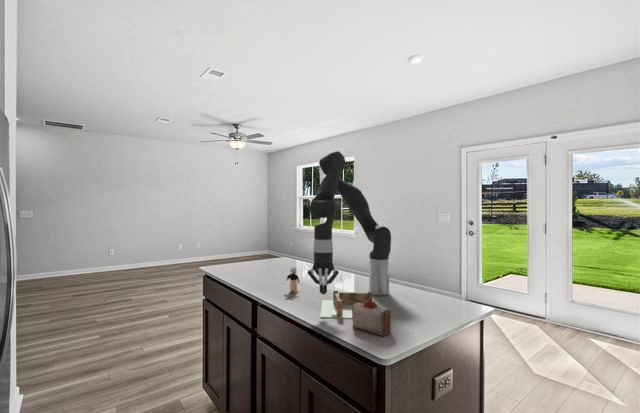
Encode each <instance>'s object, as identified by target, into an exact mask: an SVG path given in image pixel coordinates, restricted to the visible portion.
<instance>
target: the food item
mask: <svg viewBox="0 0 640 413" xmlns="http://www.w3.org/2000/svg"><path fill="white" fill-rule="evenodd" d="M352 318H353V319H352V328H354V329H357V330H361V331H364V332H368V333H371V334H374V335H378V336H381V337H386V336H387V335H389V334H390V333H391V330H392V327H391V323H392V322H391V321H392V310H391V309H389V308H387V307H386V308H385V307H381V306H378V304H377V302H376V300H375V299H374V300H373V302H371V301H369V302H367V303H365V304H364V303H355V304H354V305H352Z"/></svg>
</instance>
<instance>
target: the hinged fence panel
mask: <svg viewBox="0 0 640 413" xmlns="http://www.w3.org/2000/svg"><path fill="white" fill-rule="evenodd" d="M332 292H333V298H332V299H333V300H332V301H333V304H334V305H335V307H336V310H337V316H342V315H343V301H342V300H340V298H339V290H333V291H332Z"/></svg>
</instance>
